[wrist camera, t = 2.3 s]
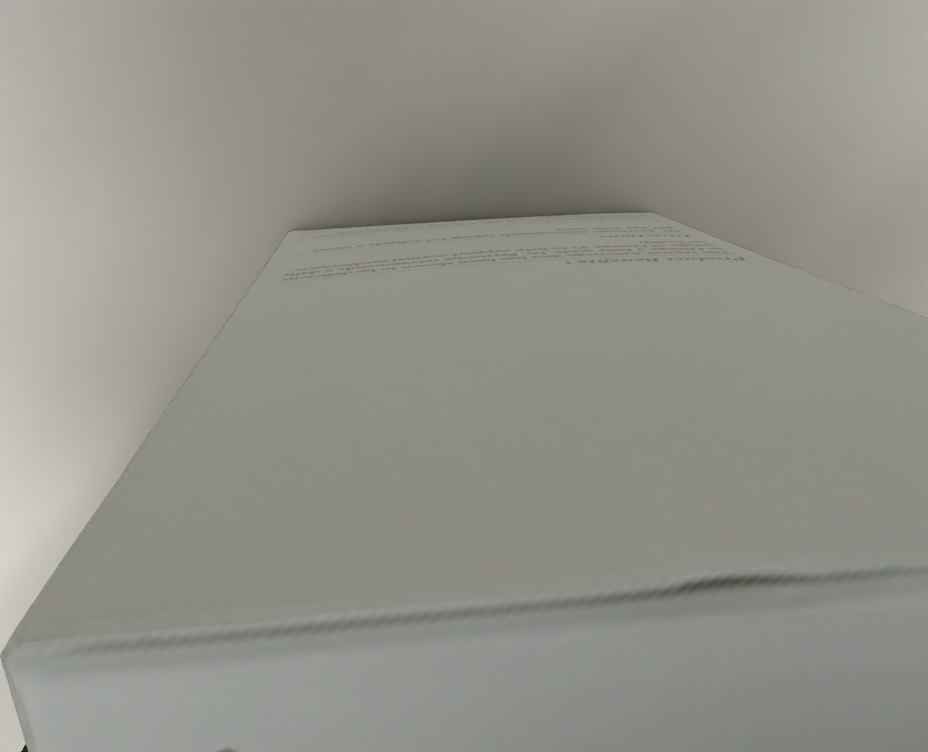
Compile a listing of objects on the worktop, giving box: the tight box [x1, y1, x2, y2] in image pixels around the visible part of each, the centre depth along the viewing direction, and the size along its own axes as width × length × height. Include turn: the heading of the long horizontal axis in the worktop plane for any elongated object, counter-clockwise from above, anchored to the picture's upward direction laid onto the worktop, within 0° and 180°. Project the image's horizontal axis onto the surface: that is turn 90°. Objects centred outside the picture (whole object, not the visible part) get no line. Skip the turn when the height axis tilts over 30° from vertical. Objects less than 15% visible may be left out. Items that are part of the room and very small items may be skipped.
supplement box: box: [0, 213, 928, 752], centre depth 11 cm, size 7×7×13 cm
